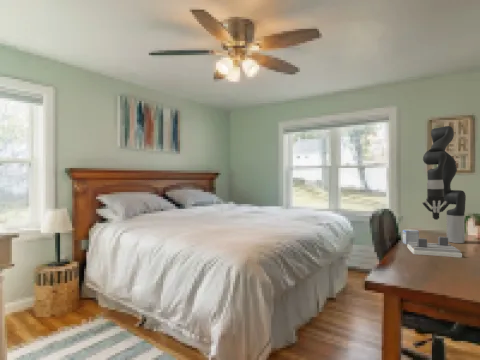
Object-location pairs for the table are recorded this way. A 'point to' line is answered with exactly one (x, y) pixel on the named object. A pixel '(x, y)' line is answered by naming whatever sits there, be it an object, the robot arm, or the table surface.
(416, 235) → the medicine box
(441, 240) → the inner tab
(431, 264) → the table surface
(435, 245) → the switch board
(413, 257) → the table surface
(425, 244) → the grey slider block
